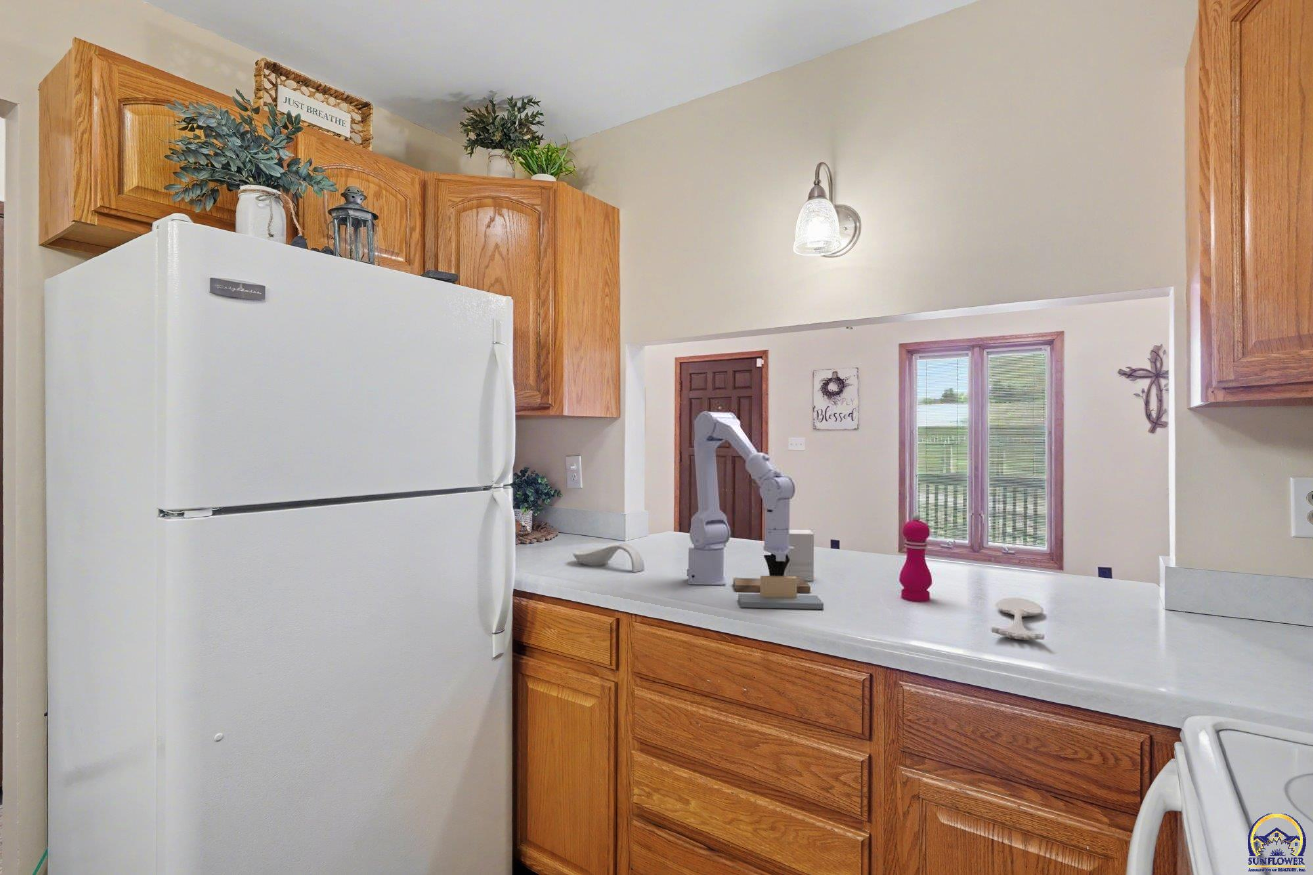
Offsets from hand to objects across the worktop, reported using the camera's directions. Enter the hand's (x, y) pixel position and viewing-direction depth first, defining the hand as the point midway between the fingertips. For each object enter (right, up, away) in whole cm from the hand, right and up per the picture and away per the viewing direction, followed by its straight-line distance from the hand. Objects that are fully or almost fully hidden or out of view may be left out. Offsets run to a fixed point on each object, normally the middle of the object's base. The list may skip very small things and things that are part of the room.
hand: (776, 586), depth 153 cm
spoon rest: (-42, -3, +36) cm, 55 cm away
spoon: (+46, -4, -20) cm, 50 cm away
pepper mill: (+33, -3, +2) cm, 33 cm away
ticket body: (+1, -3, +10) cm, 11 cm away
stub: (0, -3, -6) cm, 6 cm away
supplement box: (+10, -3, +22) cm, 25 cm away
